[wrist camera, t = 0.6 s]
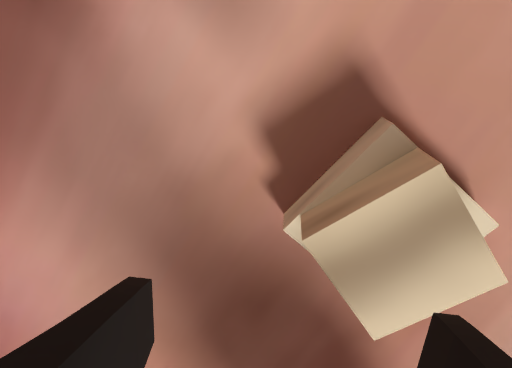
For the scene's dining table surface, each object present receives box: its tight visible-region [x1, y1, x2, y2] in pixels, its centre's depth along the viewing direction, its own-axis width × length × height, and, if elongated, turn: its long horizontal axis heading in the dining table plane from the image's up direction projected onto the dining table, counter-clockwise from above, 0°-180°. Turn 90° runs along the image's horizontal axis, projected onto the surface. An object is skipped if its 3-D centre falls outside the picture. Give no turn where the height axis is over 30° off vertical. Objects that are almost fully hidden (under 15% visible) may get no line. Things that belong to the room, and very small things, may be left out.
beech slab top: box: [300, 147, 508, 341], centre depth 15 cm, size 6×6×2 cm
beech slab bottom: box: [283, 117, 499, 252], centre depth 17 cm, size 7×7×2 cm
